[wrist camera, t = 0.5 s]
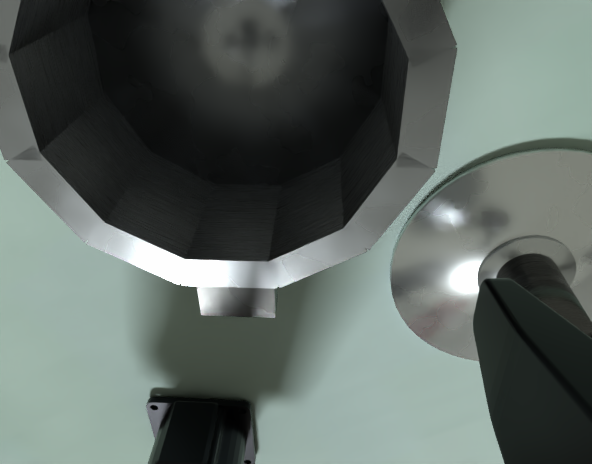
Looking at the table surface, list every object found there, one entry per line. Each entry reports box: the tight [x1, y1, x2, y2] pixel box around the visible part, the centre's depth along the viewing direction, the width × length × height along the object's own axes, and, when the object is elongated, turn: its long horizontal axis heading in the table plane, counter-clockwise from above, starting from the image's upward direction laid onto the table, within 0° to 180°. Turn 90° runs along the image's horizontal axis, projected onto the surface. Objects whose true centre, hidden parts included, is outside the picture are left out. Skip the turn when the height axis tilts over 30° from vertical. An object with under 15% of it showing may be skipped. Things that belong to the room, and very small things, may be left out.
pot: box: [0, 0, 457, 318], centre depth 17 cm, size 18×13×6 cm
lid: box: [390, 148, 592, 361], centre depth 22 cm, size 13×13×5 cm
